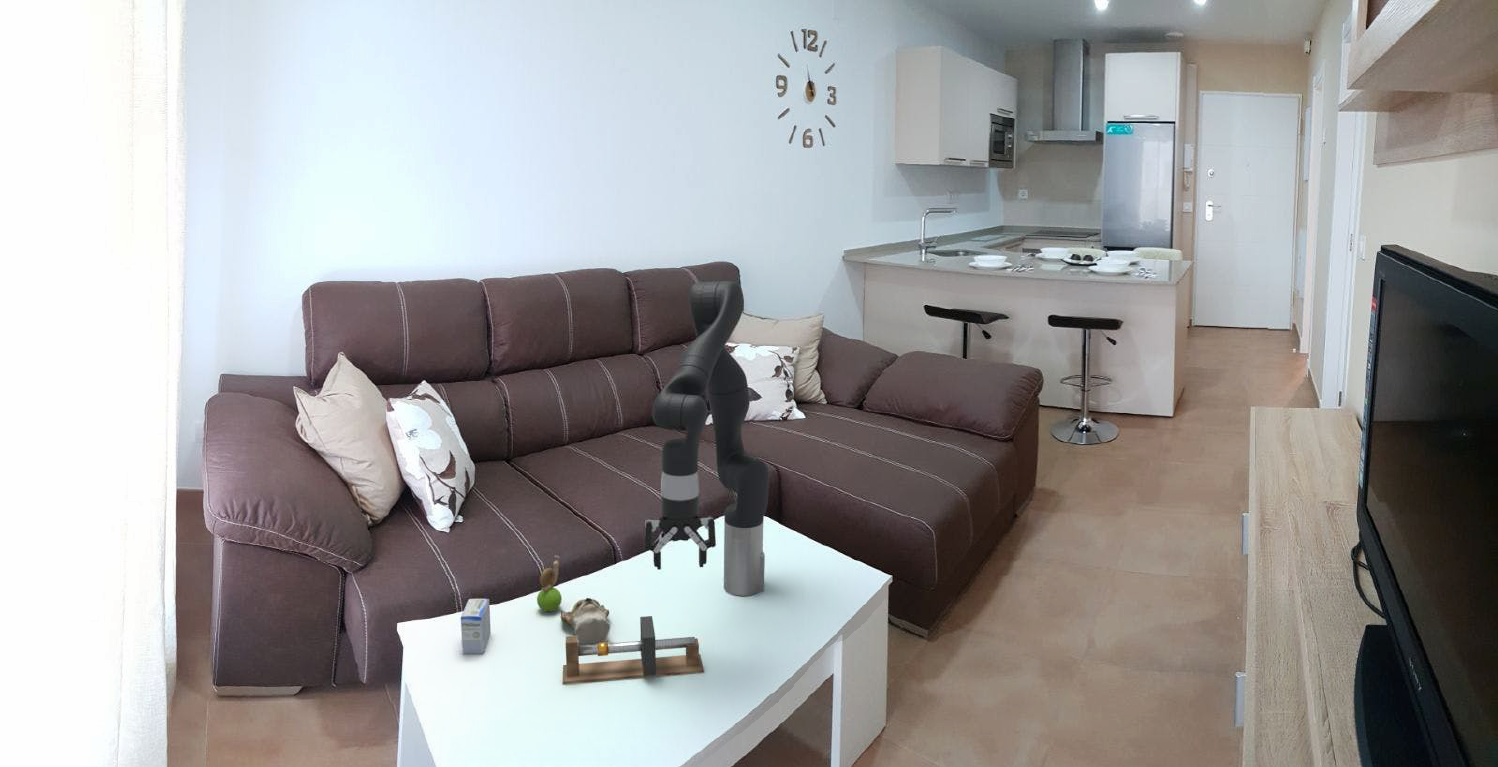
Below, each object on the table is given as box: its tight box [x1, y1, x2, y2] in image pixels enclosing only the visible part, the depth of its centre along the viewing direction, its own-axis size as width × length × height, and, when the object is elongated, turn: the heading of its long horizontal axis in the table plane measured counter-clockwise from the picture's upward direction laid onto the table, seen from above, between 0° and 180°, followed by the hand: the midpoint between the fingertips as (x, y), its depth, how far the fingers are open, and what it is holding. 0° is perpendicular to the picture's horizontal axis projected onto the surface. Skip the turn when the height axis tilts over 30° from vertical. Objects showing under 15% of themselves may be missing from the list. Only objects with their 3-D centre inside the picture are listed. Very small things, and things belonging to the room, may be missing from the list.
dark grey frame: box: [639, 615, 657, 676], centre depth 189 cm, size 2×8×8 cm, turn 10°
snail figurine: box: [536, 555, 562, 612], centre depth 212 cm, size 5×6×12 cm
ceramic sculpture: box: [560, 597, 611, 645], centre depth 203 cm, size 11×9×15 cm
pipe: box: [578, 636, 696, 657], centre depth 188 cm, size 25×3×3 cm, turn 100°
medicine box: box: [460, 598, 491, 655], centre depth 197 cm, size 8×4×9 cm, turn 5°
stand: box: [562, 635, 705, 685], centre depth 189 cm, size 28×6×8 cm, turn 100°
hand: (679, 566), depth 190 cm, fingers open, 8 cm apart
